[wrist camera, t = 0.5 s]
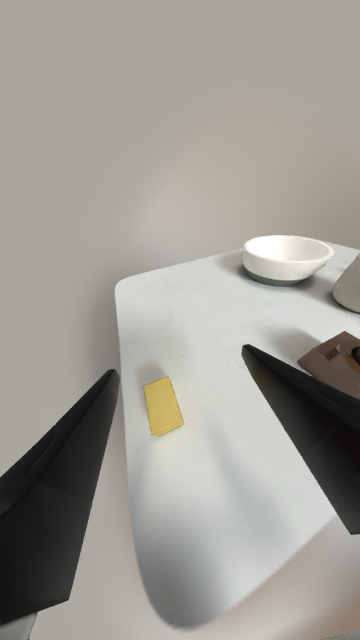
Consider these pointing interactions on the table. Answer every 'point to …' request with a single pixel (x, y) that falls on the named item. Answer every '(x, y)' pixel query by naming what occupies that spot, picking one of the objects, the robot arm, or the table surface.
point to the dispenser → (335, 363)
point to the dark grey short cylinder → (356, 355)
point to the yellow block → (162, 407)
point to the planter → (349, 287)
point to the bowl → (284, 259)
